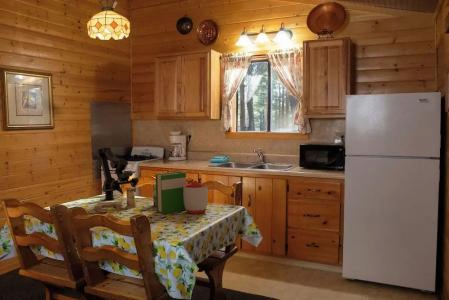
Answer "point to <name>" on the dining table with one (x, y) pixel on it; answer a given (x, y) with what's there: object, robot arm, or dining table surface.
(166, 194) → the hardback book
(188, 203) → the white plant pot
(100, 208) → the notched board
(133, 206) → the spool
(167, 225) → the dining table surface
